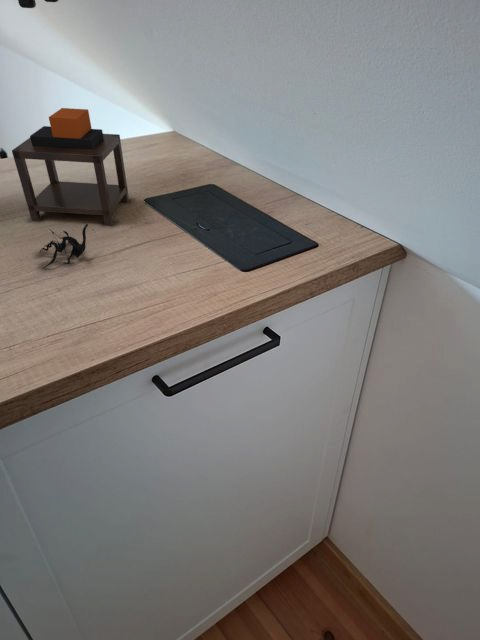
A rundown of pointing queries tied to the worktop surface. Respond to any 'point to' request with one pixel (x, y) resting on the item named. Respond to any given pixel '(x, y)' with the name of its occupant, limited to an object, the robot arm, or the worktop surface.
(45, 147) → the rack
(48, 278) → the worktop surface
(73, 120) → the orange cube on base
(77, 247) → the creature
